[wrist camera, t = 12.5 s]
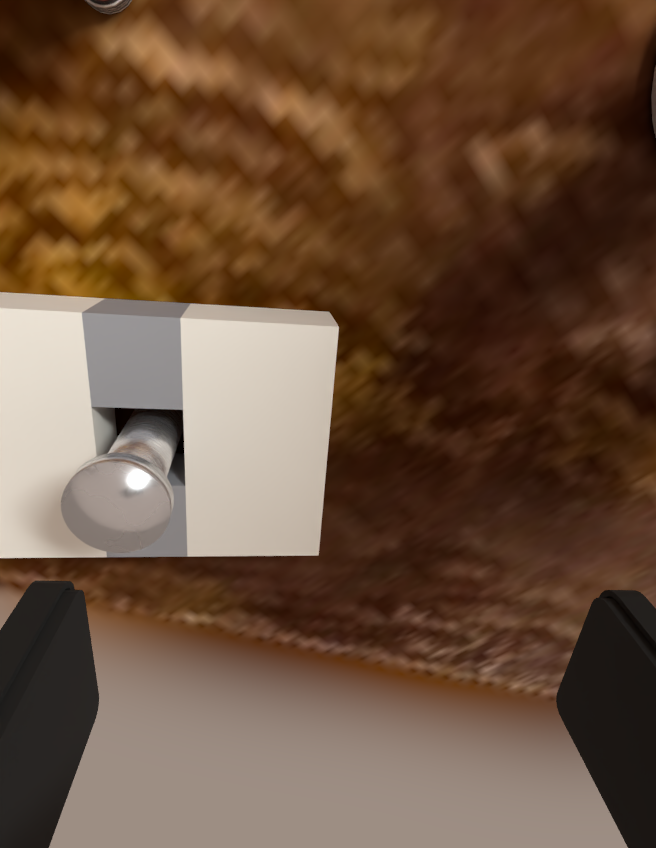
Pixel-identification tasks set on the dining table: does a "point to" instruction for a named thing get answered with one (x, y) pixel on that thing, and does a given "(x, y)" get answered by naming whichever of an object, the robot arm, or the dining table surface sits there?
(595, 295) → the dining table surface
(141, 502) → the steel pin
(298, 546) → the clevis block
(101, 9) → the lighter
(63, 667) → the robot arm
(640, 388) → the dining table surface
